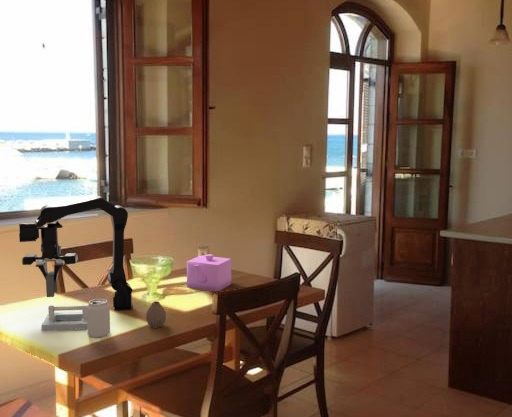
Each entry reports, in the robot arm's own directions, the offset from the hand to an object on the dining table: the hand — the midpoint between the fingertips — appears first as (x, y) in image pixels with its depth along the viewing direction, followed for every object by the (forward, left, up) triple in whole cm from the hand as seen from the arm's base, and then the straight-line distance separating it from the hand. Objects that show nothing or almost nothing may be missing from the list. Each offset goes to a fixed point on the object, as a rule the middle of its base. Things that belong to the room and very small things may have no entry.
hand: (51, 281), depth 223 cm
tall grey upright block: (0, 0, -5) cm, 5 cm away
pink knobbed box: (-60, -33, -13) cm, 69 cm away
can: (-19, +23, -13) cm, 33 cm away
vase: (-38, +16, -13) cm, 43 cm away
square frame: (-7, +10, -13) cm, 18 cm away
